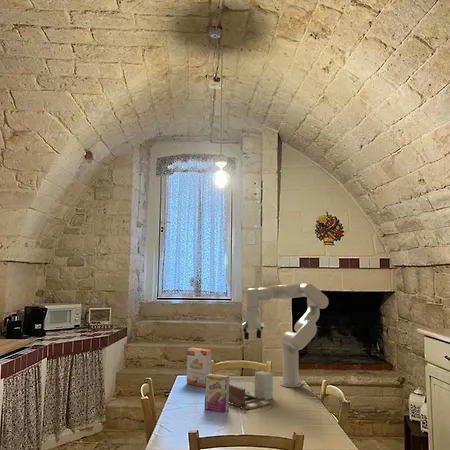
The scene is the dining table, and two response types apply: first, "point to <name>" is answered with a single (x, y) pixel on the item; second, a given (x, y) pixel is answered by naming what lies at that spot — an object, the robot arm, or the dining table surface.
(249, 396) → the gauge carriage
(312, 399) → the dining table surface
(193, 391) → the dining table surface
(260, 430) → the dining table surface
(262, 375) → the small box
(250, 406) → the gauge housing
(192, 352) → the cracker box
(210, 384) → the candy bar box
